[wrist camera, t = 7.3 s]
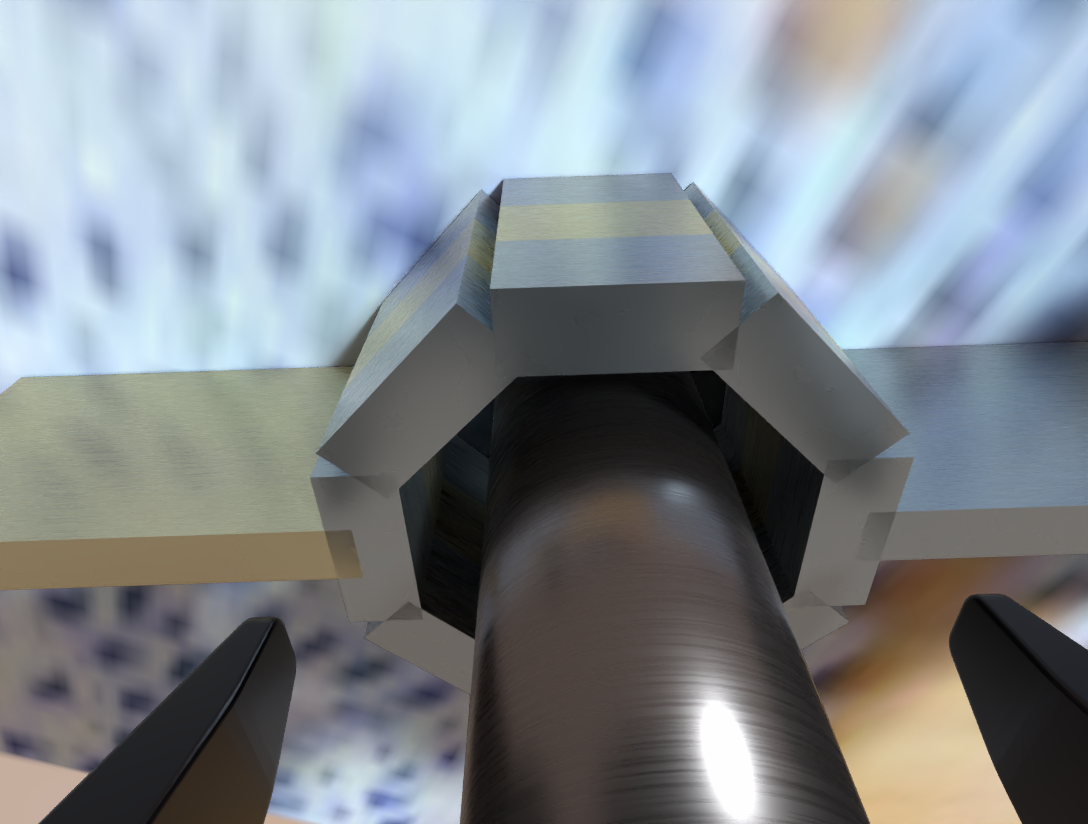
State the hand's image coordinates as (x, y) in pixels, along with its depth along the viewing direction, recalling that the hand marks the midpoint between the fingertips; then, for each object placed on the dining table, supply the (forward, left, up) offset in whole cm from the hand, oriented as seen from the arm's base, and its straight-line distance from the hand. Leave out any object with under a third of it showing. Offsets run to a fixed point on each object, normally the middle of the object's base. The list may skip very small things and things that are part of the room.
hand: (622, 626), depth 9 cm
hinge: (0, 0, -6) cm, 6 cm away
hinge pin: (0, 0, -6) cm, 7 cm away
